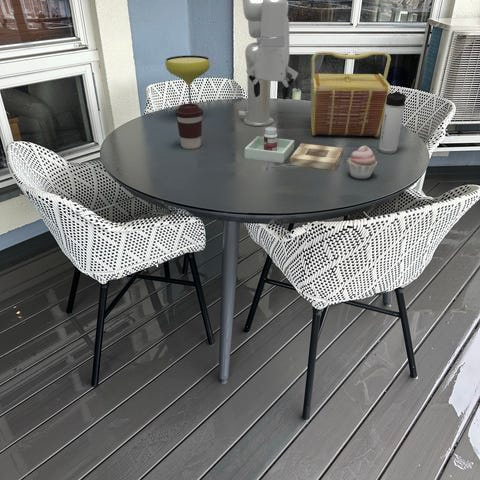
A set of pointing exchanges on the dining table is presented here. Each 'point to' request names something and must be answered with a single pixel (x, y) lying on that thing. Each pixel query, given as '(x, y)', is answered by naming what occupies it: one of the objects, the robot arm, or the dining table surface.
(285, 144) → the tray
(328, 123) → the picnic basket
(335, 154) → the socket block
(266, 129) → the pill bottle
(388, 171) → the dining table surface
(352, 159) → the cupcake
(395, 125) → the travel mug
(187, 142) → the coffee cup
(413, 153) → the dining table surface
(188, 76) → the cocktail glass
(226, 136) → the dining table surface
